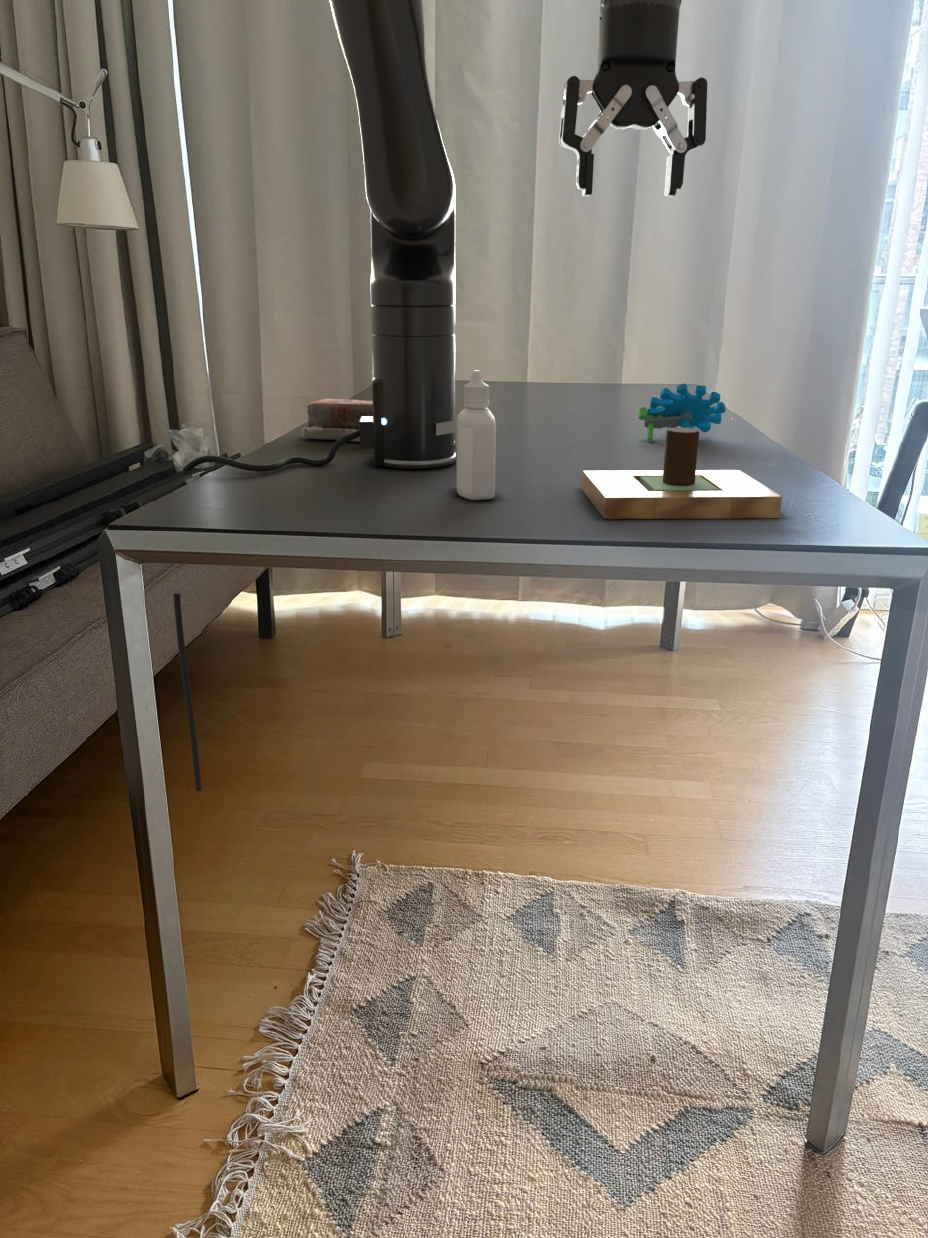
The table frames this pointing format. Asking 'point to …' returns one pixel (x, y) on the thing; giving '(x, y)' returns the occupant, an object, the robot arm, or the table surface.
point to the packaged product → (335, 418)
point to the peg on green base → (679, 464)
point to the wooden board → (680, 497)
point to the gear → (682, 410)
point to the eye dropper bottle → (476, 443)
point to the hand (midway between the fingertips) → (628, 195)
